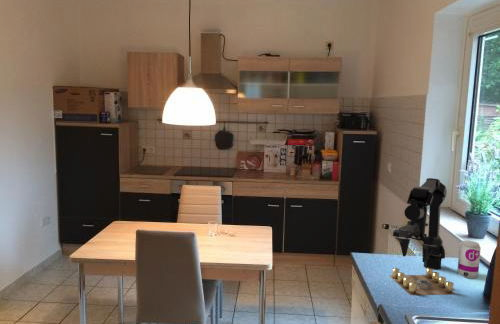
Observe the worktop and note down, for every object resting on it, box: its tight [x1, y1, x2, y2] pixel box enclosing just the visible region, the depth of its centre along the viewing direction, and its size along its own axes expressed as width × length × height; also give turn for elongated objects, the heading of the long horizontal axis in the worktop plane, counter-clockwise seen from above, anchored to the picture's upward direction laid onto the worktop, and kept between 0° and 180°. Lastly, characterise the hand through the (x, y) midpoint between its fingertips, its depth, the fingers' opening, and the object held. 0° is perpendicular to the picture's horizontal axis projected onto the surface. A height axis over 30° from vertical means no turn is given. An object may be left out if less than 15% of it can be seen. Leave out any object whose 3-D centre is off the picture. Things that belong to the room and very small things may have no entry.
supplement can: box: [457, 239, 481, 279], centre depth 183 cm, size 8×8×15 cm
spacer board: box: [388, 274, 457, 296], centre depth 170 cm, size 19×20×1 cm
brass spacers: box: [391, 267, 454, 295], centre depth 169 cm, size 18×18×4 cm
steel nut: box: [416, 279, 432, 290], centre depth 168 cm, size 5×6×2 cm
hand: (413, 259), depth 162 cm, fingers open, 9 cm apart
